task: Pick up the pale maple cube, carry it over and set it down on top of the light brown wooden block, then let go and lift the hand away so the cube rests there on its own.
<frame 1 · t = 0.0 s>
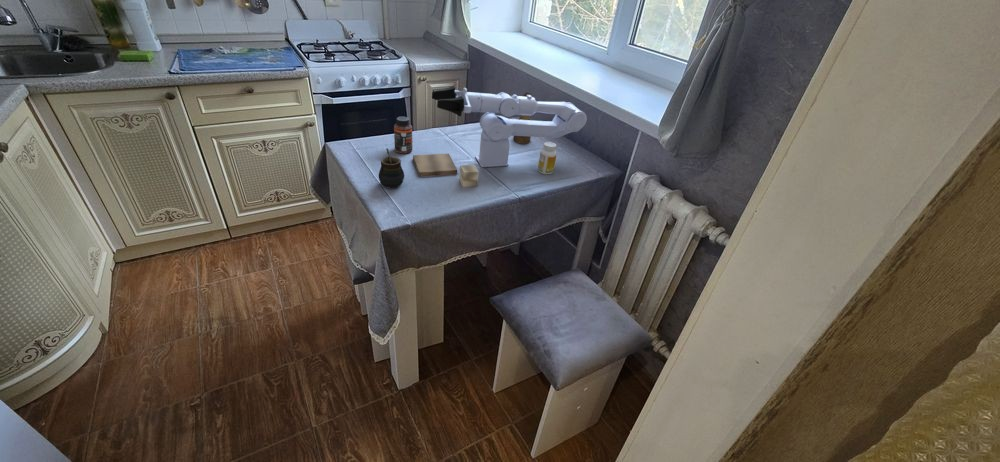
hand: (434, 99, 128), 22 cm above the table, tool horizontal, fingers open, 7 cm apart
supplement bottle: (403, 151, 147), on the table
supplement bottle 2: (545, 171, 145), on the table
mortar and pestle: (521, 140, 164), on the table
light brown wooden block: (434, 168, 140), on the table
mate gourd: (391, 185, 128), on the table
maple cube: (468, 183, 133), on the table
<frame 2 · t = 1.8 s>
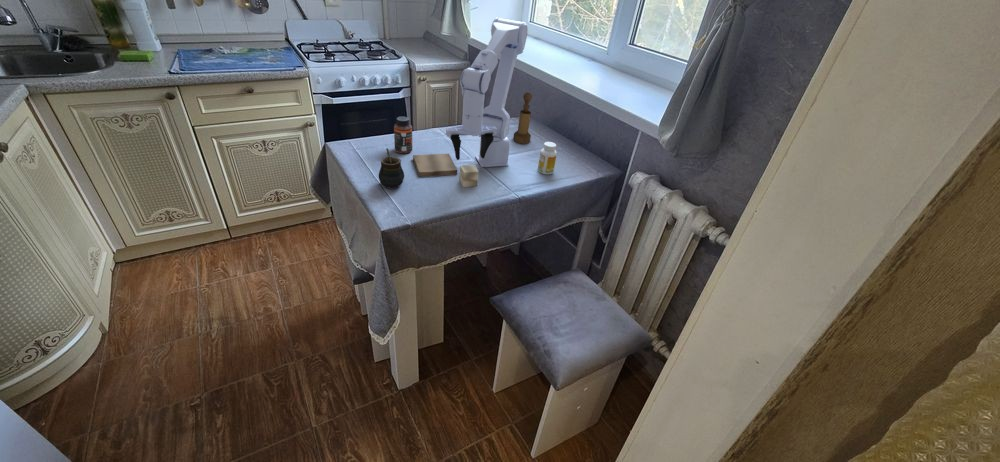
hand: (469, 157, 128), 9 cm above the table, tool pointing down, fingers open, 7 cm apart
nothing on the table moved.
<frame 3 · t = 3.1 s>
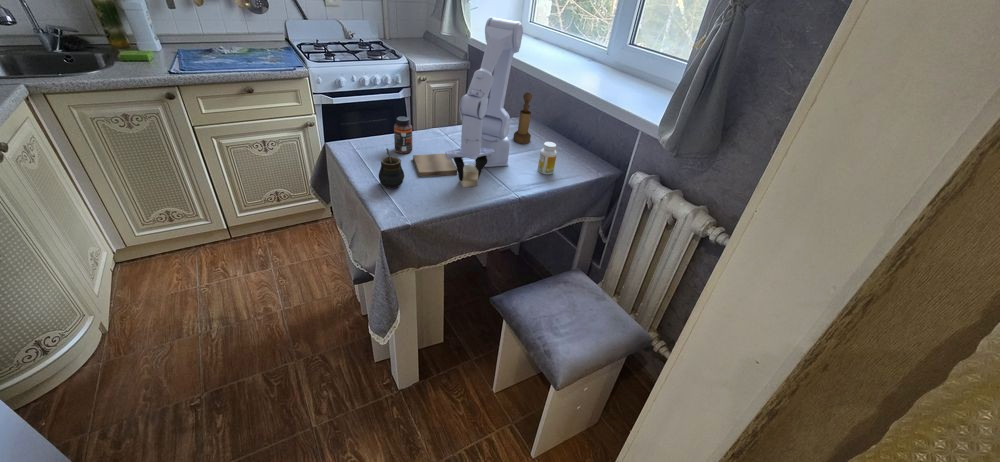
hand: (468, 178, 132), 1 cm above the table, tool pointing down, fingers closed on maple cube, 4 cm apart
maple cube: (468, 182, 133), on the table, touching gripper
everything else where it was.
when the fingers open (4 cm above the table, at t = 9.3 s): maple cube drops 2 cm, resting on light brown wooden block.
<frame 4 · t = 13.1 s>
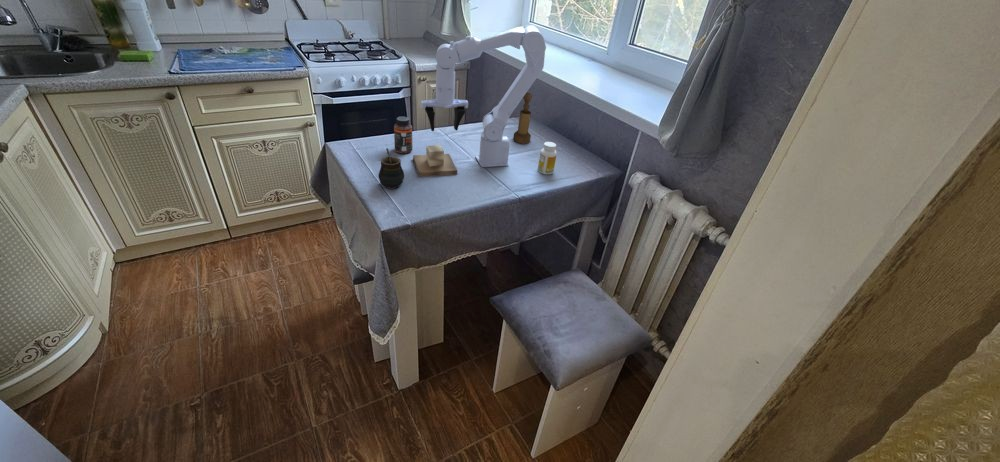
hand: (444, 129, 139), 10 cm above the table, tool pointing down, fingers open, 7 cm apart
light brown wooden block: (434, 168, 140), on the table, touching maple cube
maple cube: (434, 162, 139), point 1 cm above the table, touching light brown wooden block
everything else where it was.
at the end: maple cube inside the target area on the light brown wooden block (0.0 cm from its centre), point 2.0 cm above the light brown wooden block's base; maple cube tilted 0°; the gripper is holding nothing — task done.
